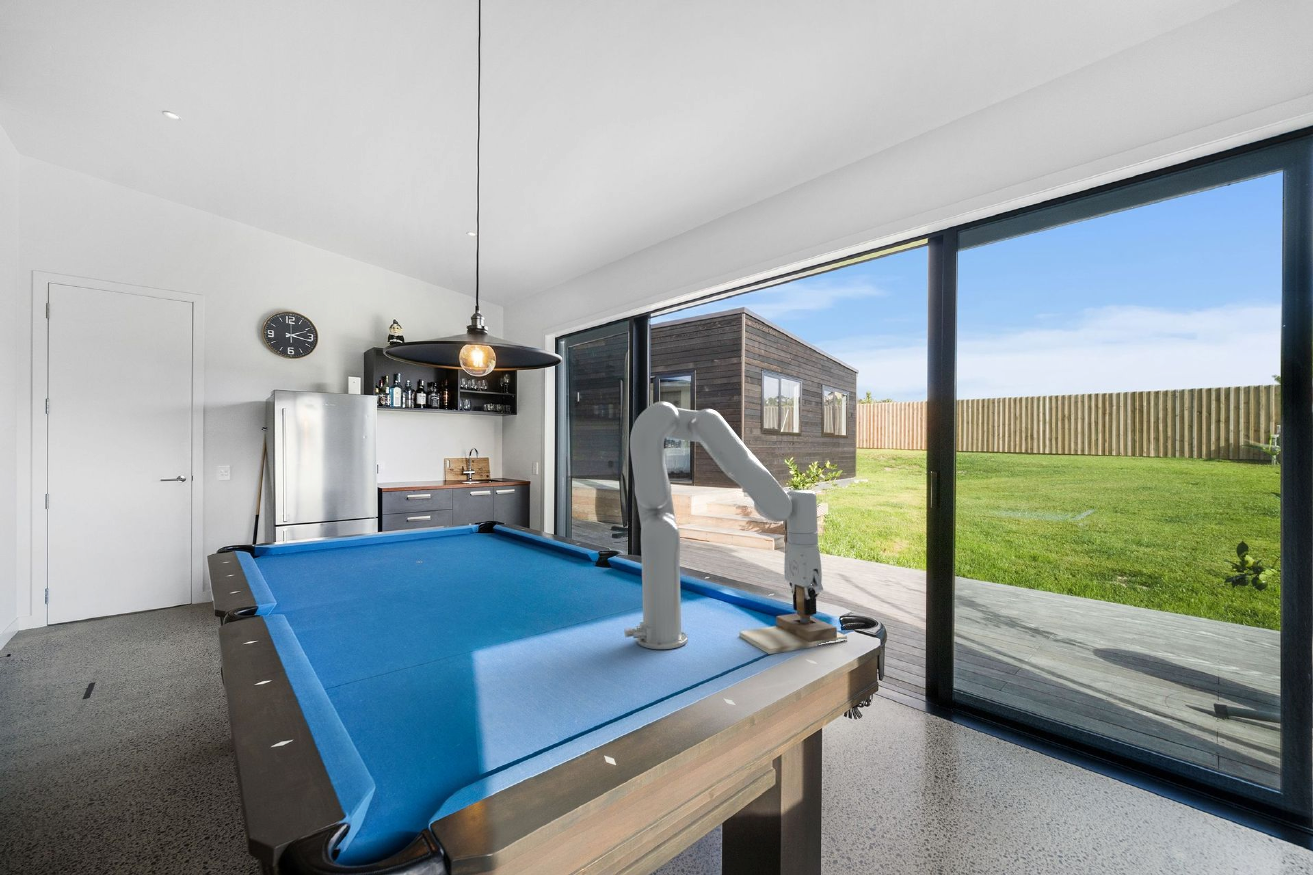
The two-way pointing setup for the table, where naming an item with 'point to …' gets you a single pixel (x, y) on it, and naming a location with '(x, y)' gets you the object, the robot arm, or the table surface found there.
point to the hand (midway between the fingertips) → (804, 611)
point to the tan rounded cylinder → (802, 605)
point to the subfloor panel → (791, 634)
